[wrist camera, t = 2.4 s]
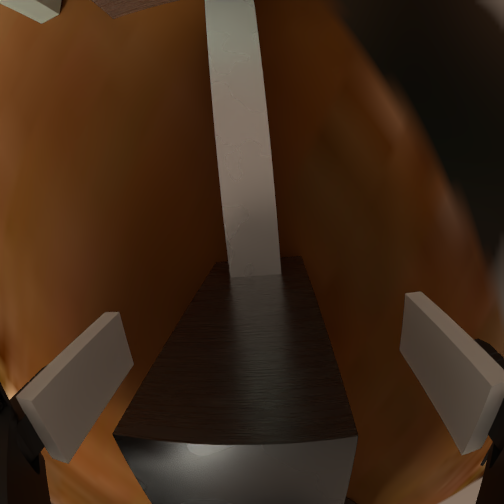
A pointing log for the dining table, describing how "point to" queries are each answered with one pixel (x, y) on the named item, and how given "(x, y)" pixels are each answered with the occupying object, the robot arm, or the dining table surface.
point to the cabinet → (35, 8)
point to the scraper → (242, 330)
